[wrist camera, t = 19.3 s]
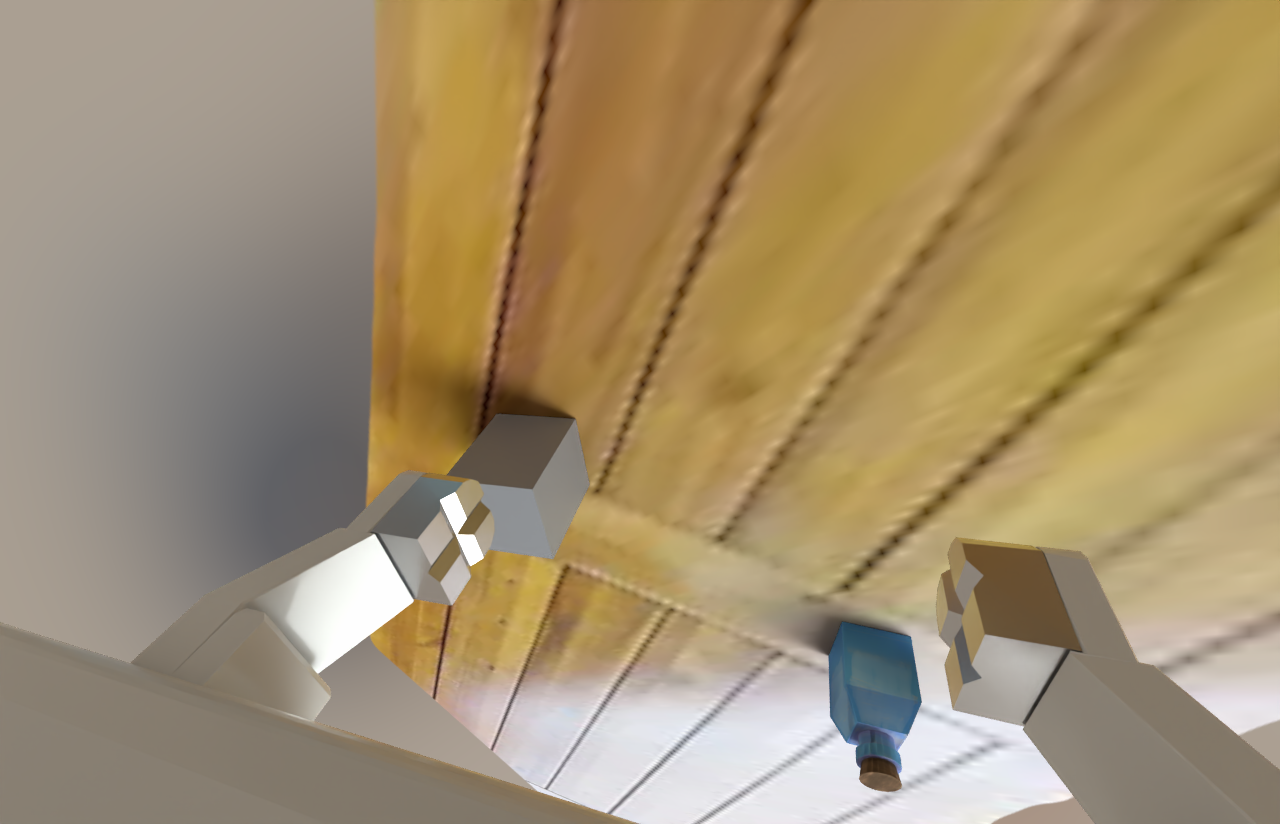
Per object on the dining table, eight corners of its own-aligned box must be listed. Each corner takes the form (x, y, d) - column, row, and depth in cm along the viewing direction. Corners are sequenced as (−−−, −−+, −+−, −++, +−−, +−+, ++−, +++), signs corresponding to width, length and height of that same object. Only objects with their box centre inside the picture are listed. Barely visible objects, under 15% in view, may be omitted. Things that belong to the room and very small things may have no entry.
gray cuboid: (575, 418, 45) (532, 489, 38) (589, 484, 49) (553, 558, 42) (496, 413, 47) (442, 479, 40) (517, 477, 51) (471, 546, 44)
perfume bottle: (842, 621, 51) (849, 754, 41) (910, 636, 50) (934, 778, 40) (828, 655, 55) (832, 785, 45) (892, 670, 53) (909, 808, 44)
